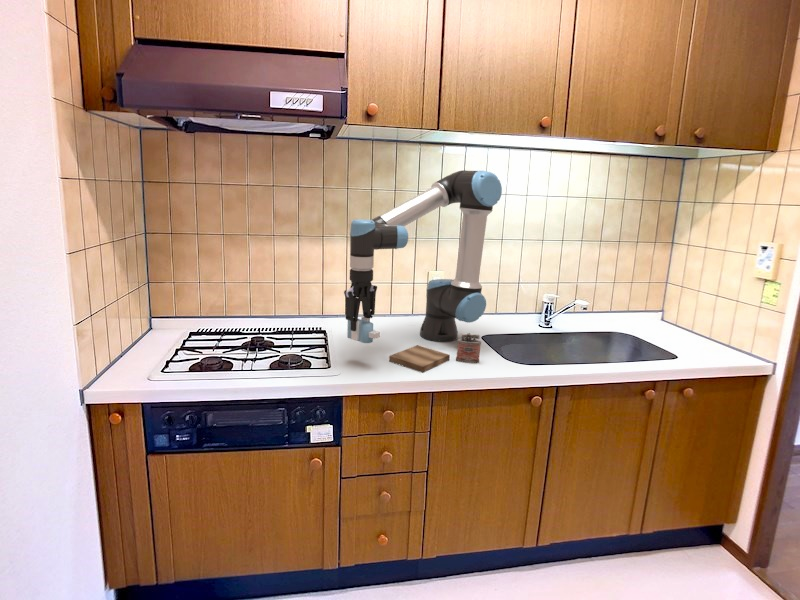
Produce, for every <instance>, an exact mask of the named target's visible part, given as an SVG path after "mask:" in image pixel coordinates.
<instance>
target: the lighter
mask: <svg viewBox="0 0 800 600" xmlns="http://www.w3.org/2000/svg"><path fill="white" fill-rule="evenodd" d="M480 337H481V336H480V335H479V334H473V333H472V334H471V333H470V332H469V333H461V338H457V352H456V357H455V360H456V362H460V363H466V364H468V363H469V364H479V363H480V351H481V345H482V341H481V340H480Z"/></svg>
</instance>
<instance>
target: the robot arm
mask: <svg viewBox="0 0 800 600" xmlns="http://www.w3.org/2000/svg"><path fill="white" fill-rule="evenodd" d="M502 189H503V188H502V183H501V180H500V179H499V177H498V176H497V175H496V174H495V173H493V172H491V171H487V170H467V169H466V170H458V171H455V172H453V173H451V174H449V175H446V176H444V177H442V178H441V179H439V180H436V181H435V182H433V183H432V184H431V187H430V188H428V189H426V190H425V191H423V192H421V193H419V194H417V195H414V196H413V197H411V198H409V199H408V200H406V201H404V202H402V203H400V204H398V205H396V206H395V207H393V208H391V209H390V210H387V211H386V212H384V213H382V214H380V215H378V216H376V217H374V218H372V219H364V218H363V219H362V218H361V219H359V218H358V219H354V220H353V219H352V221H351V223H350V232H349V237H350V239H349V240H350V242H349V244H350V245H349V247H350V248H349V252H350V253H349V267H350V269H349V281H350V288H349V289H348V290H347V289H345V290H344V291H343V294H344V297H345V300H344V301H345V320H346V321H348V320H350V321H351V339H350V340H353V341H355V342H359V321H357V320H358V319H359V315H360V314H359V313H360V309H361V308H362V309H361V310H362V317H360V319H361V320H364V321H368V322H371V321H370V319H373V318H374V315H375V312H376V294H377V289H378V286H377V285H374V284H372V282H373V280H374V266H375V265H374V263H375V262H374V261H375V250H376V251H377V250H394V249H395V250H398V249H403V248H405V247H407V244H408V242H409V233H408V229H407V228H406V226H408V225H410V224H411V223H413V222H415V221H417V220H419V219H420V218H422V217H423V216H426V215H427V214H429V213H431V212H433V211H435V210H437V209H438V208H440V207H442V208H446V207H447V206H450V205H452V204H457V203H458V204H459V209H460V211H461V212H462V222H461V229H460V237H459V243H458V244H459V246H458V252H457V253H458V254H457V260H456V261H457V263H456V271H455V278H454V279H452V278H451V279H450V278H449V279H448V278H441V279H439V278H438V279H431V280H429V281H428V283H427V288H426V303H425V306H426V307H425V317H424V320H423V321H422V325H421V327H420V331H419V336H420V337H421V338H423V339H425V340H428V341H433V342H441V343H442V342H444V343H445V342H453V341H456V340H458V339H459V338H458V336H459V331H458V326H457V323H456V320H458V321H460V322H464V323H469V324H470V323H474V322H476V321H477V320H479V319H480V318H481V317H482V316H483V315H484V313H485V311H486V308H487V299H486V297H485V295H483V293H482V289H483V285H482V284H481V283H480V281H479V280H480V272H481V265H482V257H483V251H484V250H483V249H484V243H485V234H486V228H487V227H486V226H487V221H488V216H489V215H491V213H492V212H493V207H494V206H495V205H497V204H498V201H500V199H501V196H502V192H503V190H502ZM360 307H361V308H360Z"/></svg>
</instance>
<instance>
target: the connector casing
mask: <svg viewBox="0 0 800 600" xmlns="http://www.w3.org/2000/svg"><path fill="white" fill-rule="evenodd" d="M357 321H359V341H358V342H359V343H362V344H372V343H373V342H374V340H376V339H378V338H380V336H381V332H380V331H377V330H374V323H373V322H371V321H370V322H368V321H364V320H361V318H358V320H357ZM347 338H348V339H350V340H352V339H351V321H350V320H347Z"/></svg>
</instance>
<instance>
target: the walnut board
mask: <svg viewBox="0 0 800 600" xmlns="http://www.w3.org/2000/svg"><path fill="white" fill-rule="evenodd" d="M450 357H451V356H450V354H448V353H445V352H442V351H438V350H435V349H432V348H429V347H425V346H422V345H418V344H417V345H413V346H412V347H409V348H406V349H403V350H401V351H399V352H396V353H393V354H390V355H389V362H390V361H391V362H390V363H393V362H394V363H393V364H396V363H397V365H399V364H400V365H399V366H402V365H403V366H402V367H405V366H406V367H405V368H408V369H411V370H413V371H417V372H420V373H425V372H427V371H429V370H432V369H433V368H435V367H437V366H440V365H442V364H444V363H446V362H449V361H450Z"/></svg>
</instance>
